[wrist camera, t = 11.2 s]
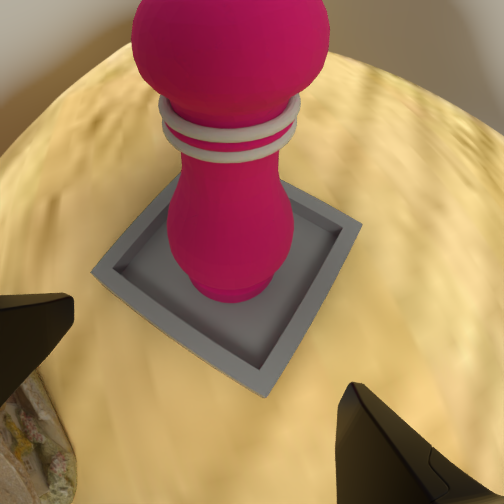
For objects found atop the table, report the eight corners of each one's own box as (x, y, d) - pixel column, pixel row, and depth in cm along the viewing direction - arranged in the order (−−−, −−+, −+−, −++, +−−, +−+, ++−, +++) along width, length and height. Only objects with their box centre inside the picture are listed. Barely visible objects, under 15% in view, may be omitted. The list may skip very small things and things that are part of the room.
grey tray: (353, 238, 24) (362, 224, 22) (262, 397, 18) (266, 397, 16) (210, 162, 27) (208, 144, 25) (101, 284, 21) (90, 272, 19)
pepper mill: (163, 243, 22) (81, -59, 4) (249, 203, 24) (272, -80, 6) (209, 330, 19) (116, -84, 2) (302, 279, 21) (433, -45, 4)
